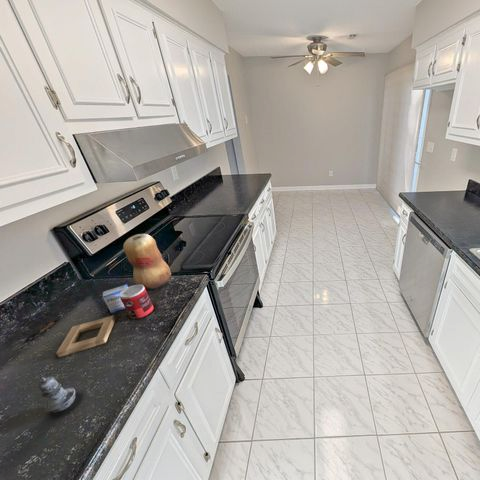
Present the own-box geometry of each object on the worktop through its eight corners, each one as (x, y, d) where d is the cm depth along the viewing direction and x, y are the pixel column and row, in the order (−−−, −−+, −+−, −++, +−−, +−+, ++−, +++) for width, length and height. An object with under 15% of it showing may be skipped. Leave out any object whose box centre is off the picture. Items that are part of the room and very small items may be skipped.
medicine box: (111, 314, 99) (101, 297, 95) (112, 308, 102) (102, 291, 98) (135, 305, 103) (126, 288, 99) (134, 300, 106) (126, 283, 102)
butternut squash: (138, 299, 106) (113, 247, 95) (141, 283, 117) (118, 235, 106) (174, 288, 112) (154, 238, 101) (174, 274, 123) (156, 227, 112)
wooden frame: (59, 358, 81) (55, 353, 80) (75, 331, 92) (72, 326, 91) (106, 344, 86) (103, 339, 84) (116, 320, 96) (113, 315, 95)
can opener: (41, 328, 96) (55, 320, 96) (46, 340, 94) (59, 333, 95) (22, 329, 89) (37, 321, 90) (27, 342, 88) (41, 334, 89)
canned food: (129, 313, 99) (117, 290, 94) (152, 303, 104) (142, 281, 99) (131, 323, 94) (119, 300, 89) (156, 313, 98) (145, 290, 93)
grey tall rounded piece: (49, 411, 66) (22, 381, 61) (77, 392, 71) (54, 363, 65) (55, 424, 63) (28, 394, 58) (84, 403, 68) (61, 374, 62)
